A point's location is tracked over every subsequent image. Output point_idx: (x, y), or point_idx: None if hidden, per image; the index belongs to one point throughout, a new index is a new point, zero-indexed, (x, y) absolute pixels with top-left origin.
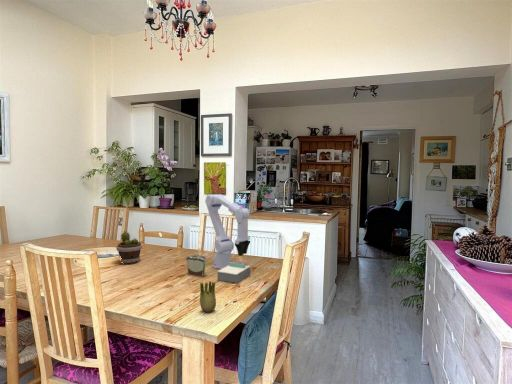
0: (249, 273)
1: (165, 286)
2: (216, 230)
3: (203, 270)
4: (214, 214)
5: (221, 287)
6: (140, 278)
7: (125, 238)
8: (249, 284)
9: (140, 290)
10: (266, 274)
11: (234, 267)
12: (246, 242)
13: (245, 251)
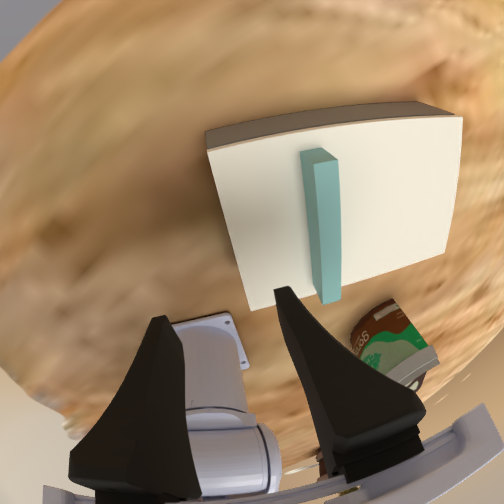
0: (219, 131)
1: (482, 295)
2: None
3: (405, 321)
4: None
5: (474, 144)
6: (436, 368)
7: (356, 490)
8: (385, 23)
9: (501, 304)
10: (99, 48)
11: (341, 229)
12: (156, 474)
13: (166, 346)
